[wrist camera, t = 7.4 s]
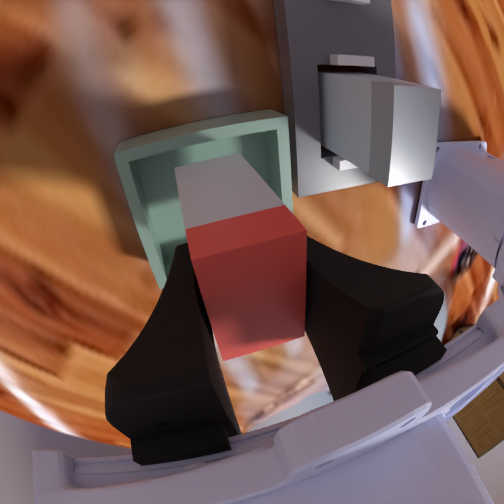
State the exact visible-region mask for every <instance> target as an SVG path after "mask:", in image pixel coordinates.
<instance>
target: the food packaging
mask: <svg viewBox="0 0 504 504" xmlns="http://www.w3.org/2000/svg"><path fill="white" fill-rule="evenodd" d="M474 325H475V324H473V325H469V326H465V327H461V328H459V329H458V330H457V331H456V332H455V334H454V335H453V336H452V337H451V338H450V340H449V341H448V342H450V341H452V340H453V339H455V338H456V337H458V336H459V335H461V334H462V333H464V332H465V331H466V330H468V329H469V328H471V327H472V326H474ZM448 342H447V343H448ZM447 343H446V344H447ZM452 417H453V419H454V420H455V422H456V423H457V425H458V427H459V428H460V430H461V431H462V433H463V435H464V436H465V438H466V440H467V441H468V443H469V444H470V446H471V448H472V449H473V451H474V453H475V454H476V456H477V458H480V457H482V456H483V455H485V454H486V453H487V452H489V451H490V450H492V449H493V448H494V447H496V446H497V445H498V444H499V443H501V442H502V441H503V440H504V372H503V373H502V374H500V375H499V376H498V377H497V378H496V379H495V380H494V381H493V382H492V383H491V384H490V385H489V386H488V387H487V388H485V389H484V390H483V391H482V392H481V393H480V394H479V395H478V396H476V397H475V398H474V399H473V400H472V401H471V402H469V403H468V404H467V405H466V406H465V407H463V408H462V409H461V410H460V411H459V412H457V413H456V414H455V415H453V416H452Z"/></svg>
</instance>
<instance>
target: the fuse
mask: <svg viewBox="0 0 504 504" xmlns="http://www.w3.org/2000/svg"><path fill="white" fill-rule="evenodd" d="M318 85H319V105H320V135H321V145H322V146H324V147H325V148H327V149H329V150H330V151H332V152H334V153H336V154H337V155H339V156H340V157H342V158H344V159H345V160H347V161H349V162H350V163H352V164H353V165H355V166H357V167H358V168H360V169H361V170H363V171H364V172H366V173H367V174H369V175H371V176H372V177H374V178H375V179H377V180H378V181H380V182H381V183H382V184H384V185H385V186H387V187H391V186H396V185H402V184H407V183H412V182H417V181H423V180H428V179H432V174H433V168H434V161H435V154H436V146H437V137H438V127H439V116H440V100H441V90H440V89H436V88H433V87H429V86H425V85H421V84H417V83H413V82H408V81H404V80H399V79H395V78H390V77H384V76H379V75H373V74H367V73H361V72H347V71H319V72H318Z"/></svg>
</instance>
